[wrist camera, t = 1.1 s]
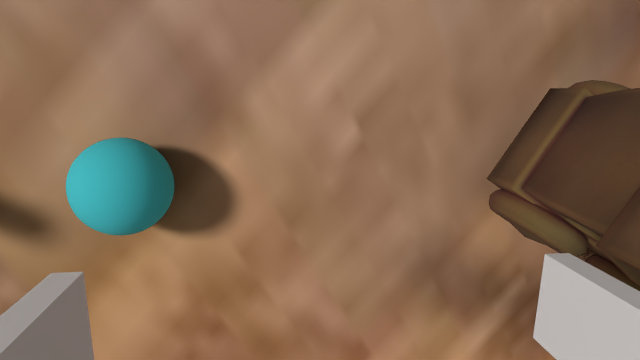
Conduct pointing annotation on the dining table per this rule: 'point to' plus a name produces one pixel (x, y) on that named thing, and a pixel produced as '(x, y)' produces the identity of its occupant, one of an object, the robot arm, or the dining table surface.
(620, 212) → the wooden toy train
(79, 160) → the ball
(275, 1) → the dining table surface
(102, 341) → the dining table surface
